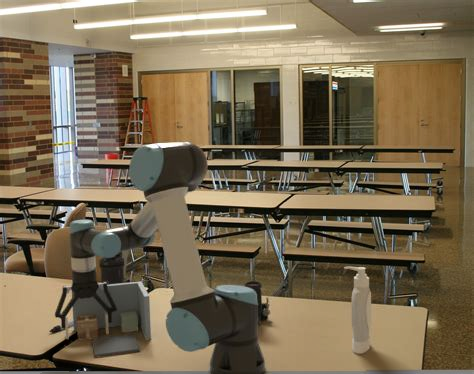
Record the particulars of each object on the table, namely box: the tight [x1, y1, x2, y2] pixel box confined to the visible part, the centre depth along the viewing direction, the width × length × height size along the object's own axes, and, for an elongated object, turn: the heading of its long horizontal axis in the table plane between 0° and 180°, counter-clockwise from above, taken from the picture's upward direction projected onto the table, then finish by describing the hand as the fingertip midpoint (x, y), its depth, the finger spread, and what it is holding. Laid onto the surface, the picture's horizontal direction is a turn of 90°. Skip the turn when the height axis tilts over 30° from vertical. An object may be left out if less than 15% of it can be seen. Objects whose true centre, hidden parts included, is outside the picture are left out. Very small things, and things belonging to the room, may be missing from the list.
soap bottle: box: [343, 266, 372, 355], centre depth 185 cm, size 13×8×24 cm, turn 159°
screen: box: [71, 281, 152, 341], centre depth 200 cm, size 17×23×14 cm
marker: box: [48, 318, 74, 333], centre depth 209 cm, size 15×2×2 cm, turn 148°
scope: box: [244, 280, 271, 327], centre depth 208 cm, size 8×14×10 cm
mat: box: [91, 333, 140, 358], centre depth 191 cm, size 13×13×1 cm
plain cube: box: [120, 311, 139, 333], centre depth 206 cm, size 5×5×5 cm
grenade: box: [98, 251, 125, 285], centre depth 235 cm, size 9×11×20 cm
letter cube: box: [76, 314, 99, 340], centre depth 200 cm, size 6×6×6 cm
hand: (87, 335), depth 200 cm, fingers open, 12 cm apart
